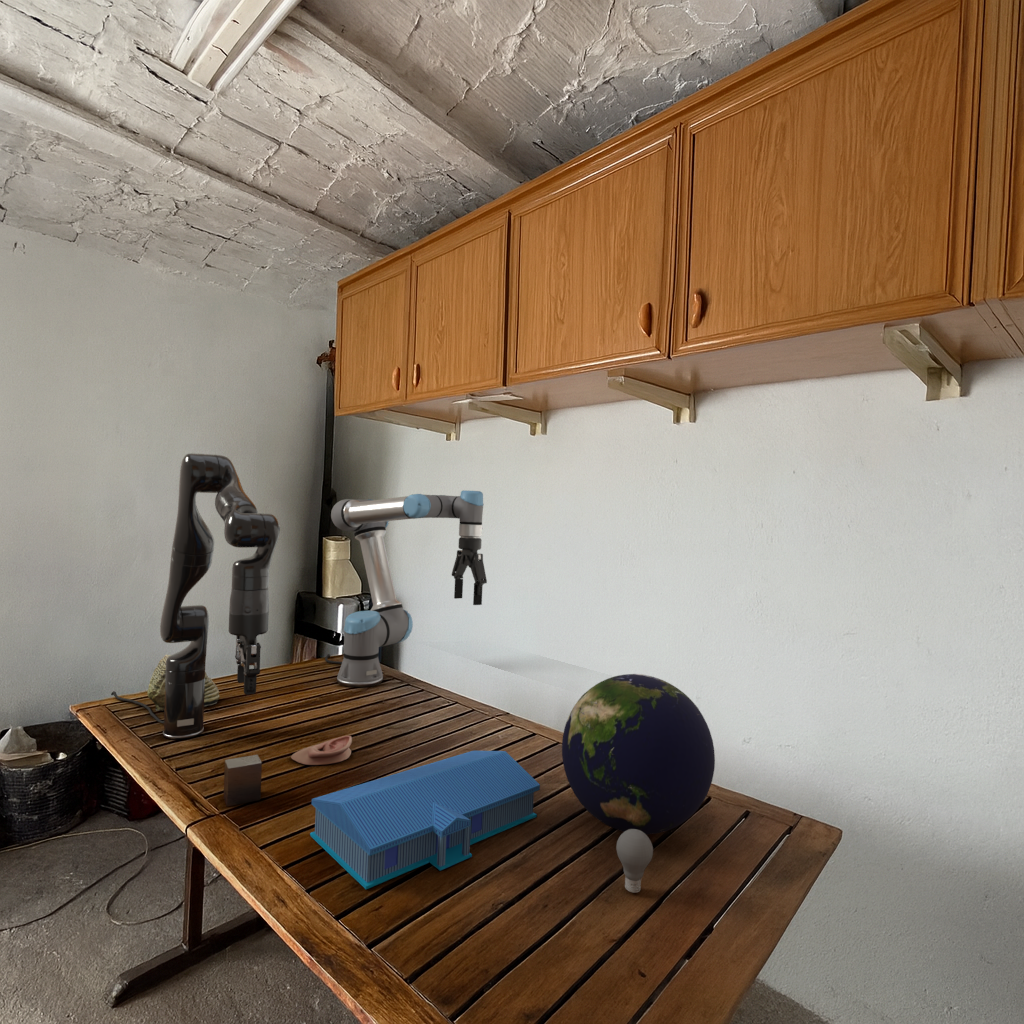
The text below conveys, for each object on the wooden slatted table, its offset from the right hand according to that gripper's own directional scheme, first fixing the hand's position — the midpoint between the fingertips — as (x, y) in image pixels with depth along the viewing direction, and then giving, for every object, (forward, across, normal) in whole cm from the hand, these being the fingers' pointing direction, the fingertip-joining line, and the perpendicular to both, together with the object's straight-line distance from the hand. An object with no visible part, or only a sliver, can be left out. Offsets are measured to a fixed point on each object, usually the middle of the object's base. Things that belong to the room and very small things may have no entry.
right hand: (467, 601), depth 209 cm
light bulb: (+30, -108, +24) cm, 114 cm away
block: (+30, -45, +75) cm, 93 cm away
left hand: (+7, -46, +75) cm, 88 cm away
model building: (+30, -74, +45) cm, 92 cm away
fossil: (+30, +21, +81) cm, 89 cm away
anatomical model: (+30, -32, +55) cm, 70 cm away
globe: (+30, -91, +9) cm, 97 cm away
